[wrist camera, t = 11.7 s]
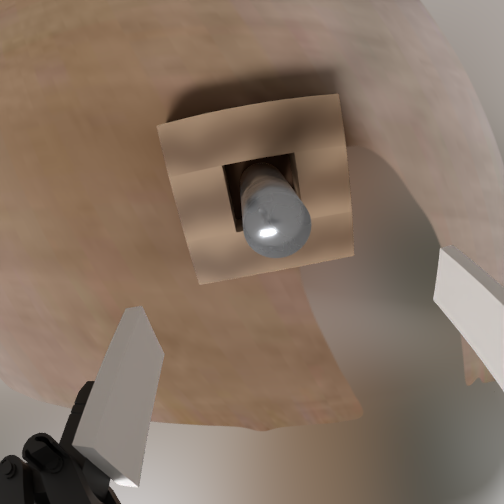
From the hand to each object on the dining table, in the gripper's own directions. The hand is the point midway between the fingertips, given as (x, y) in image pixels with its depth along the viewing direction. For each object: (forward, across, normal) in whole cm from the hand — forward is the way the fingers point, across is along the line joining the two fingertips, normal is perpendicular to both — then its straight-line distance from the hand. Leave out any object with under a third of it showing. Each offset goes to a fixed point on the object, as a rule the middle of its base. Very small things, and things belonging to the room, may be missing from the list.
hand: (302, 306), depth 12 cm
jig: (+21, 0, 0) cm, 21 cm away
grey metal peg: (+21, 0, 0) cm, 21 cm away
